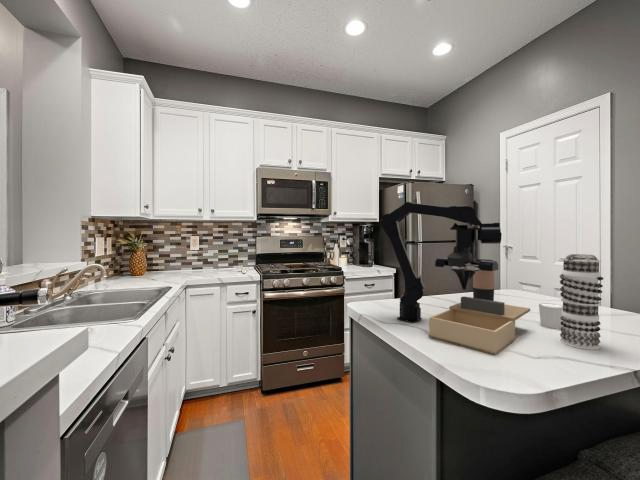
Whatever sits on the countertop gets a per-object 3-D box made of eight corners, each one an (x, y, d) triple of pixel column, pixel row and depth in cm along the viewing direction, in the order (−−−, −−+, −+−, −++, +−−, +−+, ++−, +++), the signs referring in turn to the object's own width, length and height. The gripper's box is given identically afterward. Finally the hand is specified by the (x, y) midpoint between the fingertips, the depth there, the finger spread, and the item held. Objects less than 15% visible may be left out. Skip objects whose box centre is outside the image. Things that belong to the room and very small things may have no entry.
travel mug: (468, 307, 126) (469, 259, 125) (481, 305, 129) (481, 258, 128) (485, 311, 119) (486, 261, 118) (498, 309, 122) (498, 260, 121)
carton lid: (449, 309, 99) (449, 296, 99) (470, 301, 110) (470, 289, 110) (514, 321, 86) (514, 306, 85) (530, 310, 97) (530, 297, 97)
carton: (429, 337, 90) (429, 317, 90) (453, 326, 101) (453, 308, 101) (495, 355, 77) (495, 331, 77) (515, 340, 87) (515, 319, 87)
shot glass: (553, 330, 96) (554, 308, 96) (533, 324, 103) (533, 303, 103) (569, 328, 98) (570, 306, 98) (548, 322, 105) (549, 302, 105)
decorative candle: (577, 337, 90) (578, 253, 89) (611, 349, 80) (613, 255, 80) (550, 338, 88) (551, 253, 88) (581, 351, 79) (583, 256, 79)
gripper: (427, 243, 103) (426, 288, 103) (486, 244, 89) (485, 297, 89) (442, 242, 110) (442, 285, 111) (499, 243, 96) (498, 292, 97)
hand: (464, 289), depth 102 cm, fingers closed
